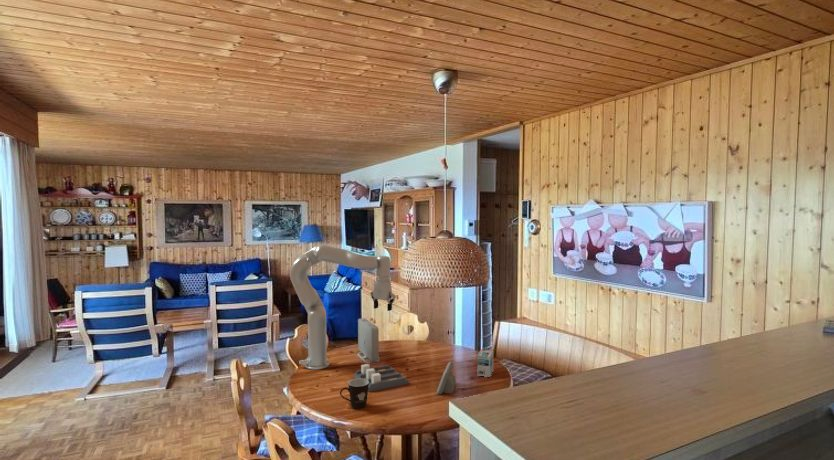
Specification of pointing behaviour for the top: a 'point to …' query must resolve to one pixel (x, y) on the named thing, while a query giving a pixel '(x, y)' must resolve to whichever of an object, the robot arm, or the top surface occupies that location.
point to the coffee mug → (357, 393)
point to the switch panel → (383, 378)
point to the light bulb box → (485, 363)
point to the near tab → (375, 378)
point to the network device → (368, 341)
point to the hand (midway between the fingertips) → (382, 309)
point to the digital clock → (447, 381)
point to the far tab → (364, 368)
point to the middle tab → (369, 373)
